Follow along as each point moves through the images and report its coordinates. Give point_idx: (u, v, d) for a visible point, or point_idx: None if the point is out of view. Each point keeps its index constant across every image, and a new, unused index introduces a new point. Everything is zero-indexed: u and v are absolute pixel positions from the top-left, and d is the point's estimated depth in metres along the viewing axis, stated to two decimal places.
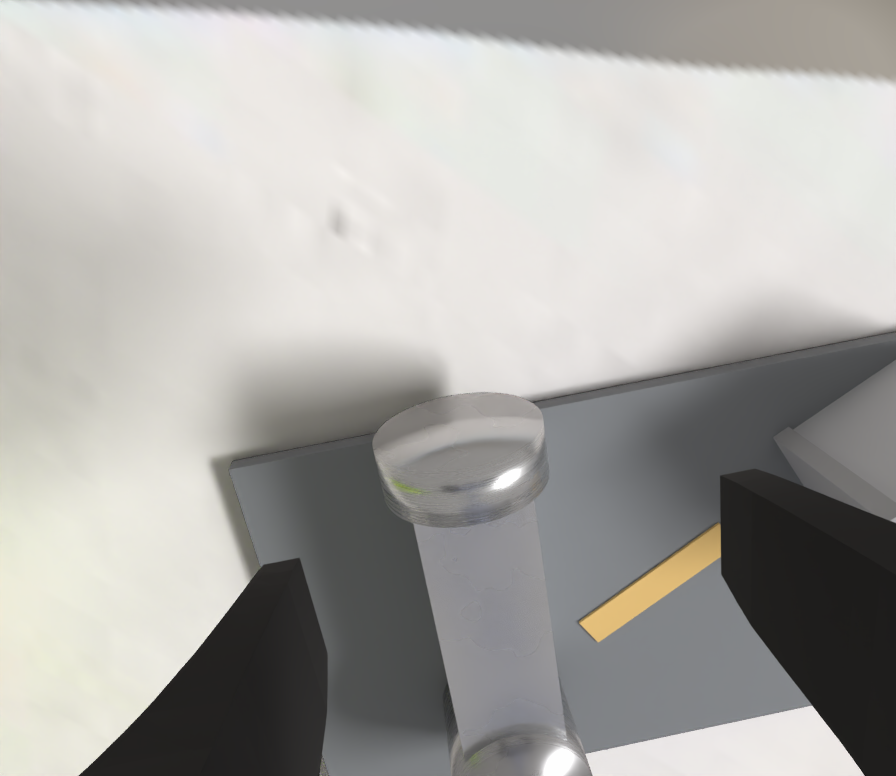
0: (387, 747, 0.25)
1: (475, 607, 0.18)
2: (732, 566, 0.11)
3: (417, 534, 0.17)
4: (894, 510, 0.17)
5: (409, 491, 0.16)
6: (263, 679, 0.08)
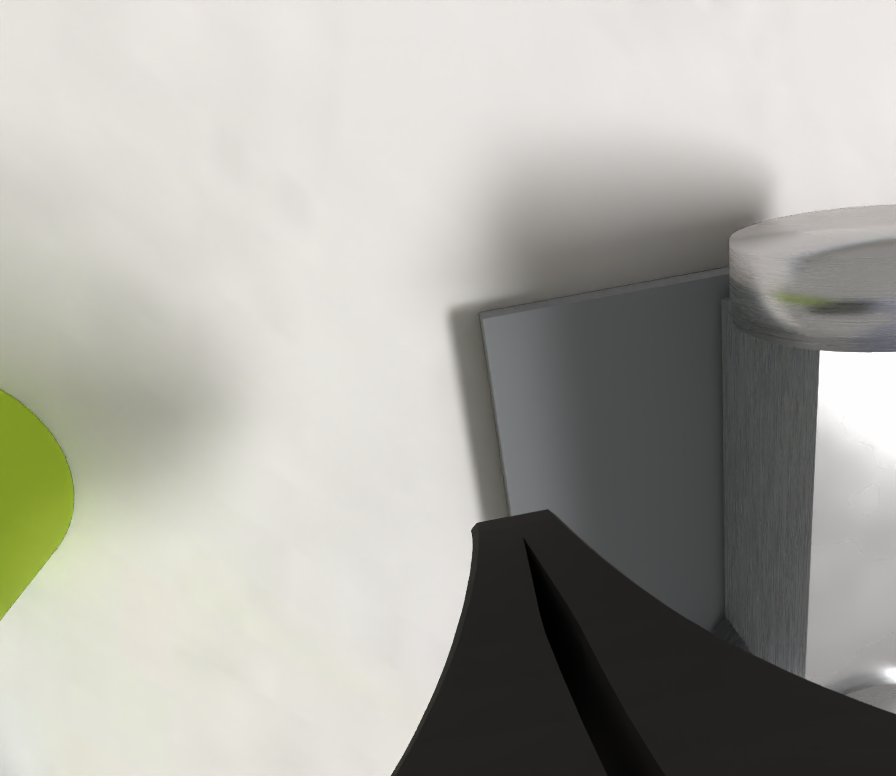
0: None
1: (872, 493, 0.13)
2: None
3: (822, 376, 0.12)
4: None
5: (845, 297, 0.11)
6: None
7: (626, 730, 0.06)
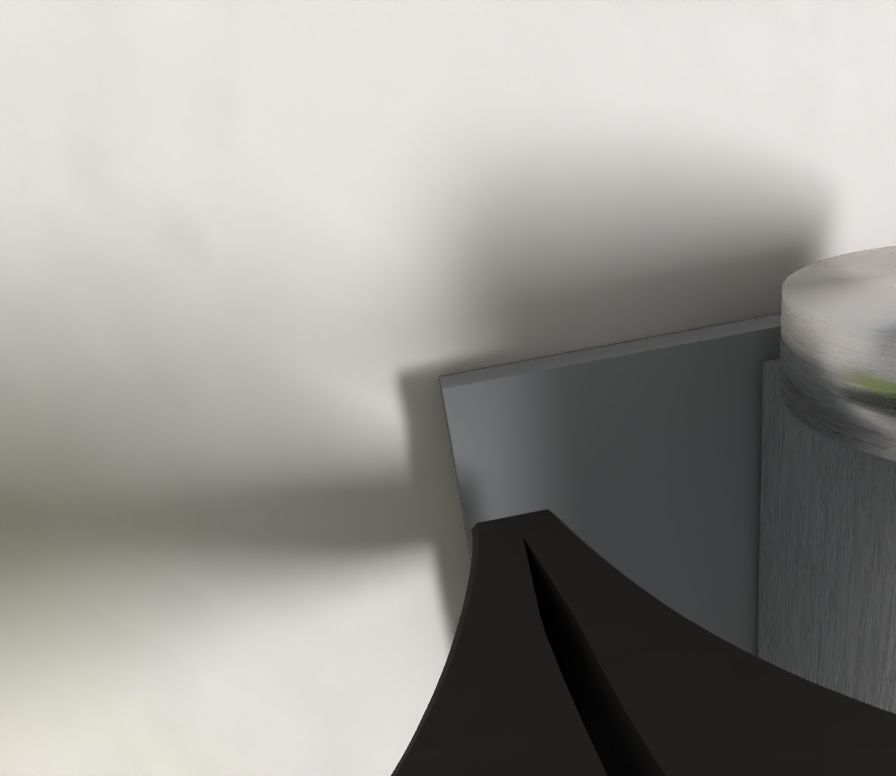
0: None
1: None
2: None
3: None
4: None
5: None
6: None
7: (626, 730, 0.06)
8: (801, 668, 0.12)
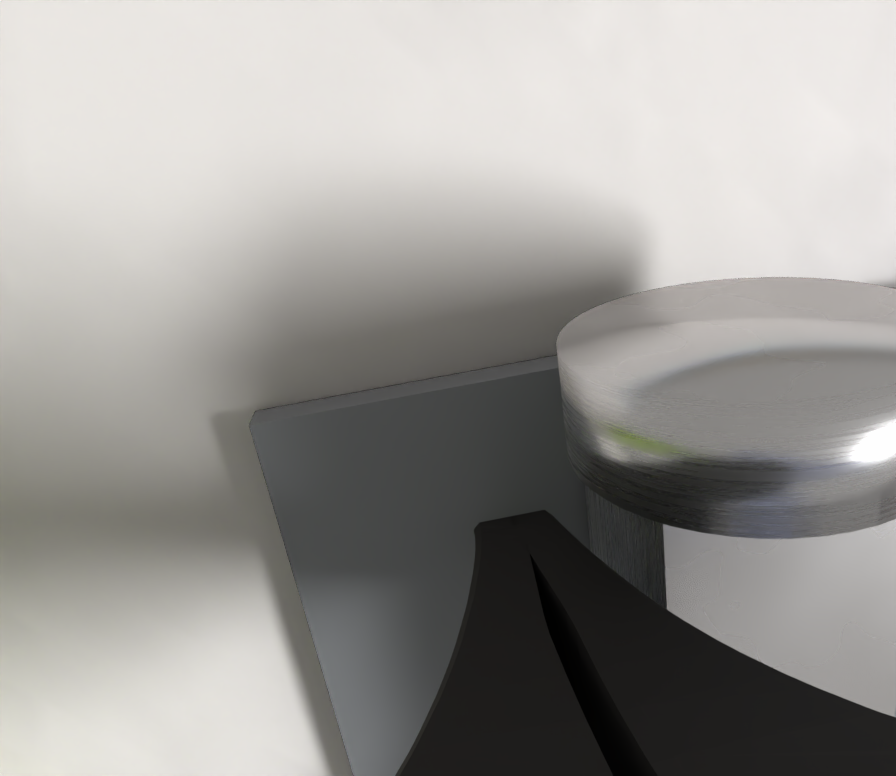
0: None
1: None
2: None
3: (668, 552, 0.08)
4: None
5: (685, 453, 0.07)
6: None
7: (620, 731, 0.06)
8: None
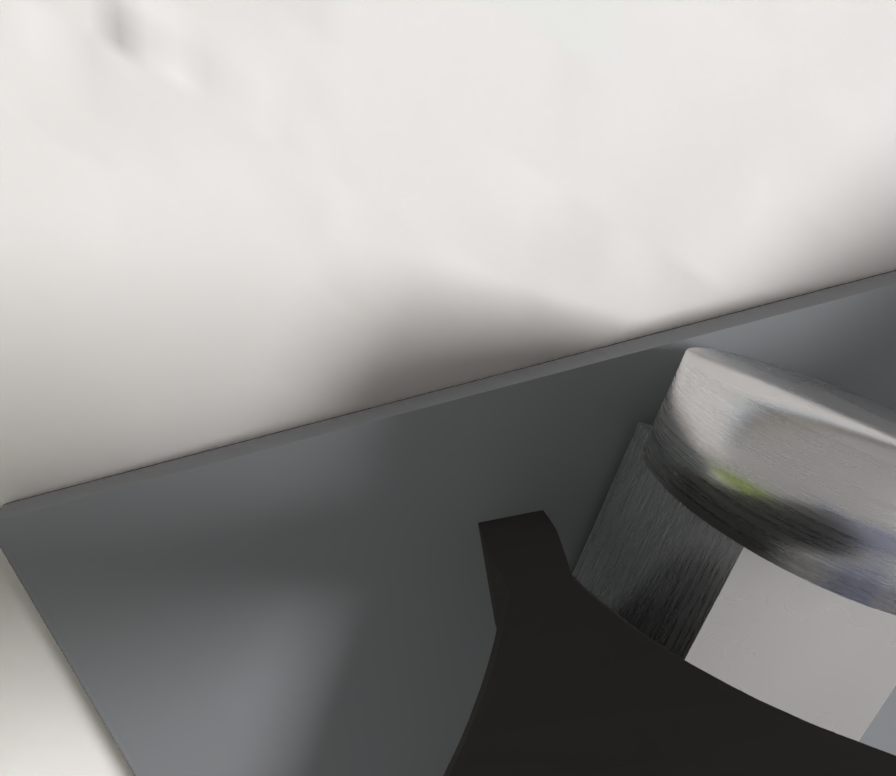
0: None
1: None
2: (494, 614, 0.11)
3: (730, 581, 0.08)
4: None
5: (814, 493, 0.07)
6: None
7: None
8: None
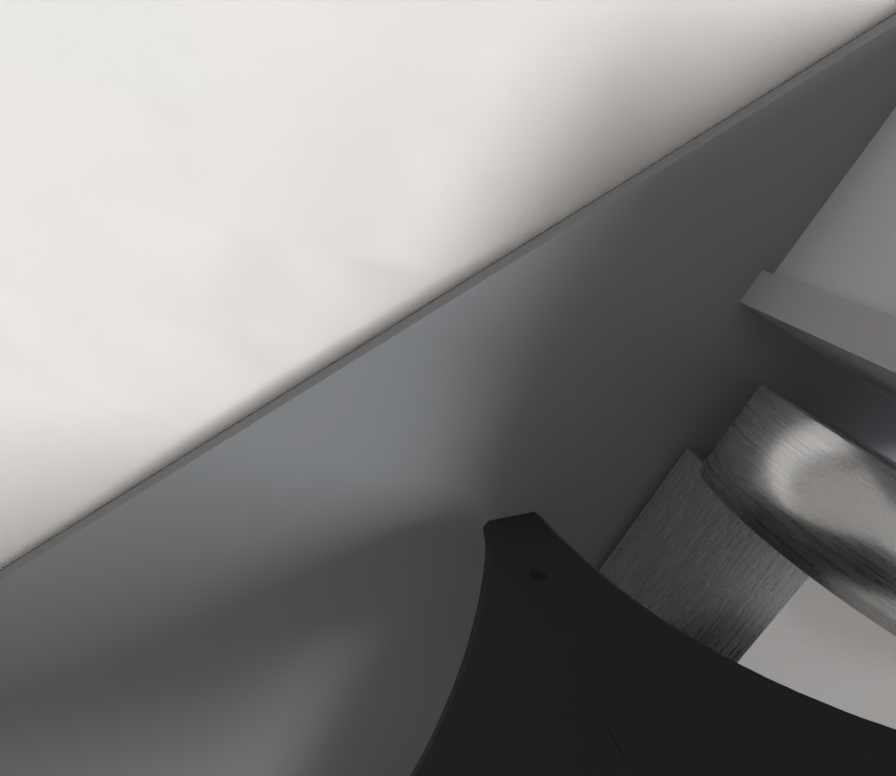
0: None
1: None
2: None
3: (786, 610, 0.08)
4: None
5: (894, 537, 0.08)
6: None
7: None
8: None
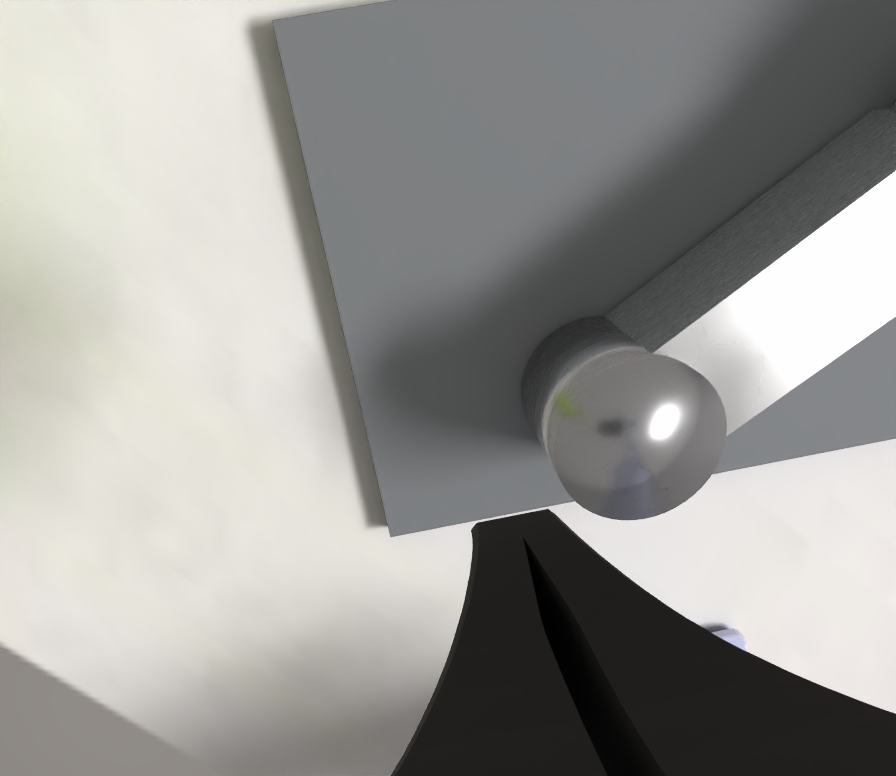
0: (451, 456, 0.21)
1: (877, 240, 0.16)
2: None
3: None
4: None
5: None
6: None
7: (626, 730, 0.06)
8: (732, 244, 0.18)
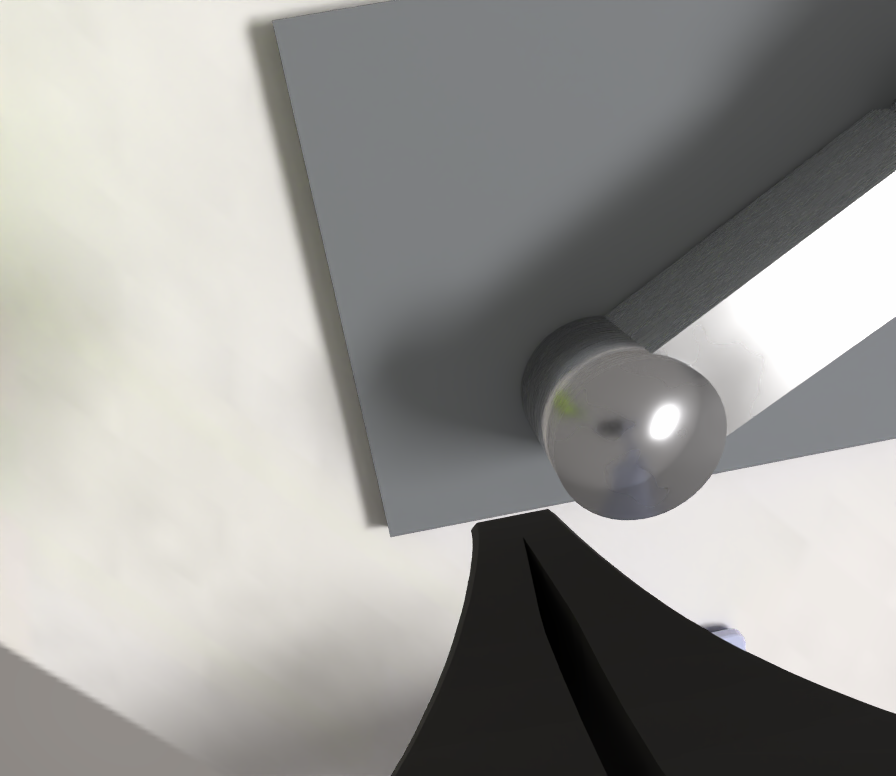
0: (451, 456, 0.21)
1: (877, 240, 0.16)
2: None
3: None
4: None
5: None
6: None
7: (626, 730, 0.06)
8: (732, 244, 0.18)
